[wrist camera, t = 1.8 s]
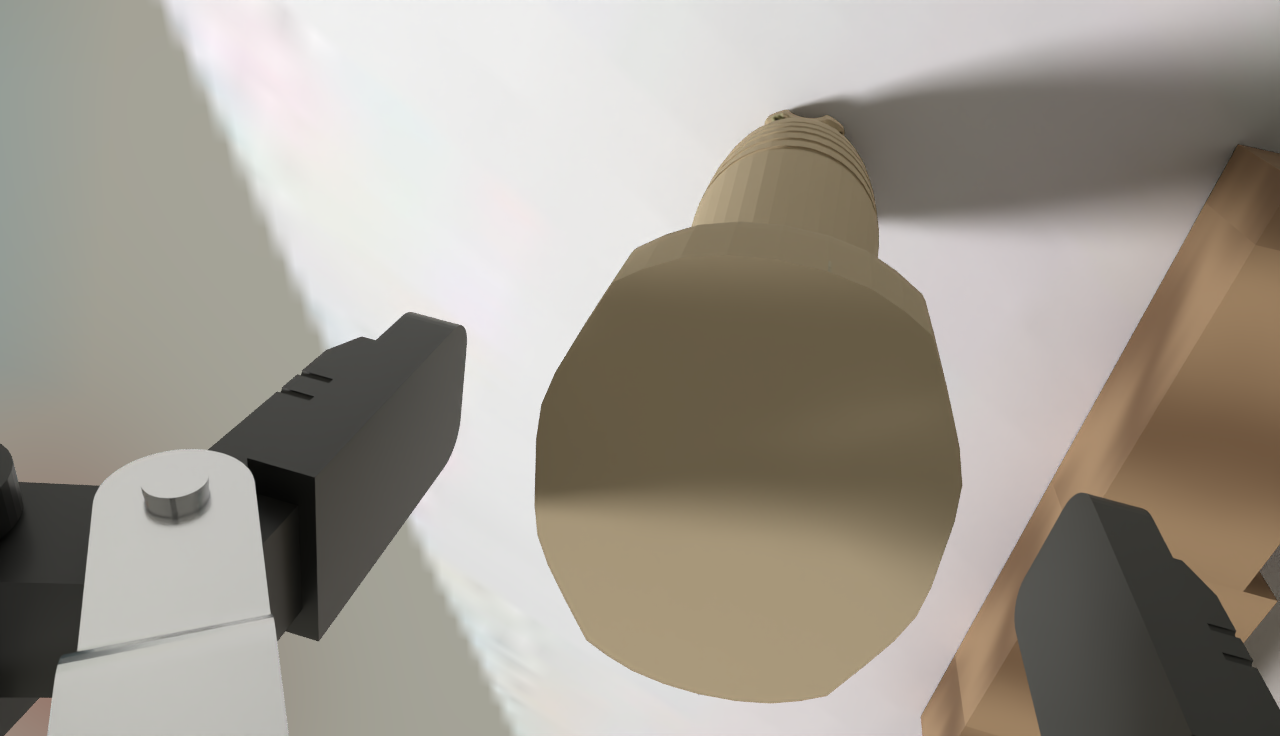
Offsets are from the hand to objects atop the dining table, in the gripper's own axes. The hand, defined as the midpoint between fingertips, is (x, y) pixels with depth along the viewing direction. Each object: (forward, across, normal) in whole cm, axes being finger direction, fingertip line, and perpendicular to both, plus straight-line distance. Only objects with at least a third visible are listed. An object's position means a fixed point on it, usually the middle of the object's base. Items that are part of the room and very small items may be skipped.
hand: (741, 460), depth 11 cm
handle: (+14, 0, 0) cm, 14 cm away
